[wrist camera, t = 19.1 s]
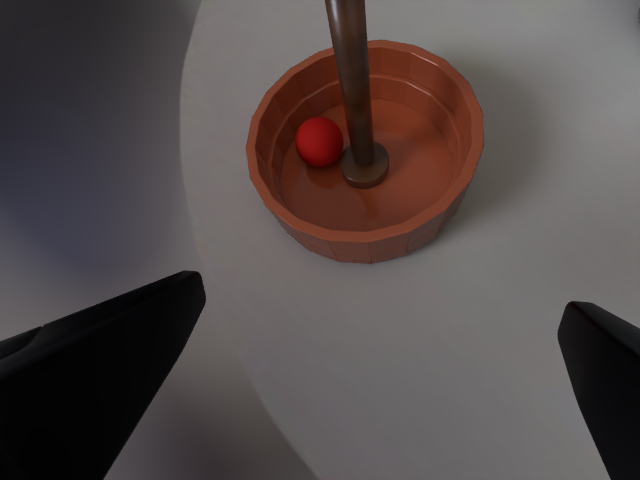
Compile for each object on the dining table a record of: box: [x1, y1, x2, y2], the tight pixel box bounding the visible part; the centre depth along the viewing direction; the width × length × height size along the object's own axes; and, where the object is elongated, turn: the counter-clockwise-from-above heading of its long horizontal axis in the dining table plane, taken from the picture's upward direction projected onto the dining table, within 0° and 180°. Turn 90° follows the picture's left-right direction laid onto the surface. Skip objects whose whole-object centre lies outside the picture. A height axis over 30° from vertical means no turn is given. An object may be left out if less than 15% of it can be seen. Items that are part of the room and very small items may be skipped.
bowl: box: [246, 40, 484, 264], centre depth 22 cm, size 13×13×5 cm
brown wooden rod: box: [325, 0, 389, 189], centre depth 17 cm, size 3×3×13 cm
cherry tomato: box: [295, 117, 344, 167], centre depth 23 cm, size 3×3×3 cm
